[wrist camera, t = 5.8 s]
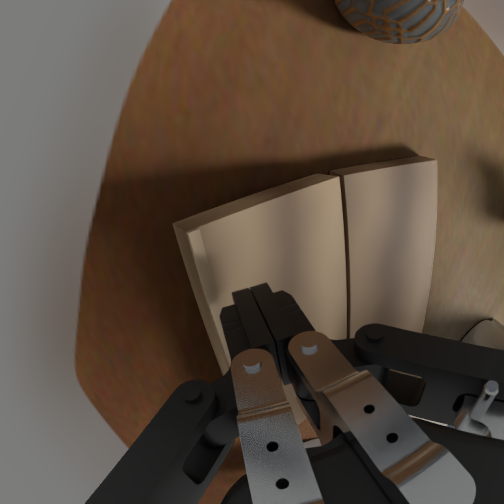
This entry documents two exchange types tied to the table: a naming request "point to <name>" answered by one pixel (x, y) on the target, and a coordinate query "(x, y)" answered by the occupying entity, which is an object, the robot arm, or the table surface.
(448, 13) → the vase
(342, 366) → the robot arm
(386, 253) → the fixed plank
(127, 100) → the table surface
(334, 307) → the board
